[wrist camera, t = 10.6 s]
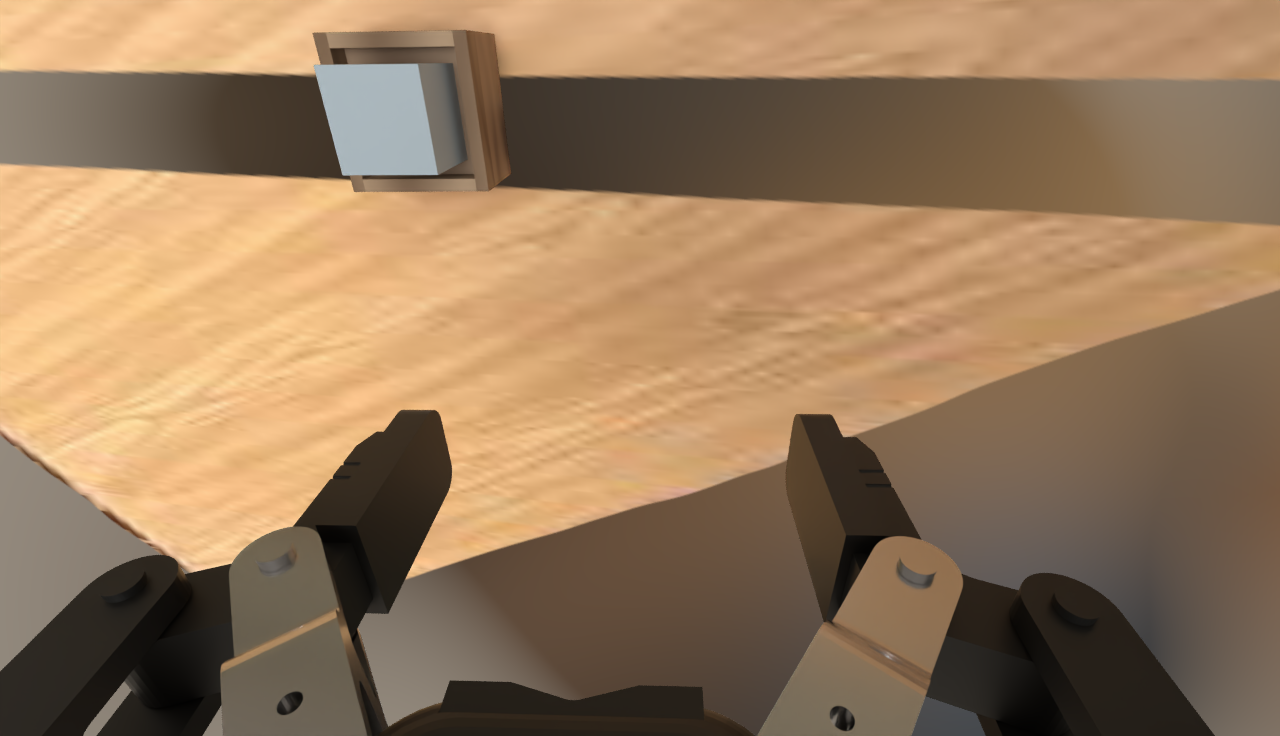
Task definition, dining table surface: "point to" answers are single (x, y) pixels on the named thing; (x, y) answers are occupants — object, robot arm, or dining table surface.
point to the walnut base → (475, 97)
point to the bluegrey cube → (393, 117)
